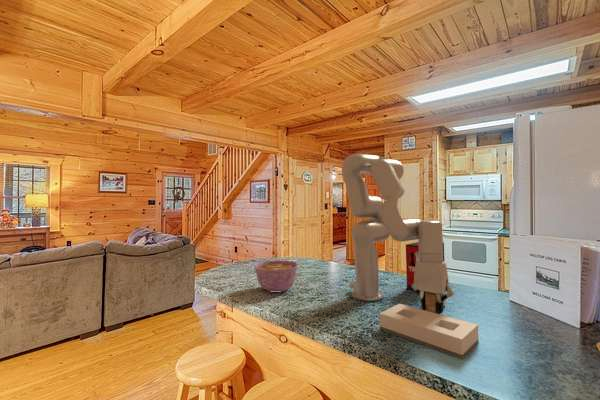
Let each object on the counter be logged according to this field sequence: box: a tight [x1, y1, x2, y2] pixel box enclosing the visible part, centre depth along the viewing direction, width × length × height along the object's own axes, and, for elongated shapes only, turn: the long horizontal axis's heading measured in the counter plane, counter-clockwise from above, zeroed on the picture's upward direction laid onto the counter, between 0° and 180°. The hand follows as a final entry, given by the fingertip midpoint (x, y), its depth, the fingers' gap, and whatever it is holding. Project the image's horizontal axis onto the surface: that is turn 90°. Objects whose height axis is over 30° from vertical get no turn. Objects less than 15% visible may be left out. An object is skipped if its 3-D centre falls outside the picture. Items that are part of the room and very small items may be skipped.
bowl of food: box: [254, 260, 299, 292], centre depth 135 cm, size 20×20×12 cm
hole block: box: [379, 303, 479, 360], centre depth 87 cm, size 12×24×5 cm, turn 42°
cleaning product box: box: [405, 241, 445, 292], centre depth 133 cm, size 16×9×20 cm, turn 127°
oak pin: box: [425, 291, 437, 313], centre depth 99 cm, size 4×4×9 cm
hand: (432, 310), depth 99 cm, fingers closed on oak pin, 4 cm apart
